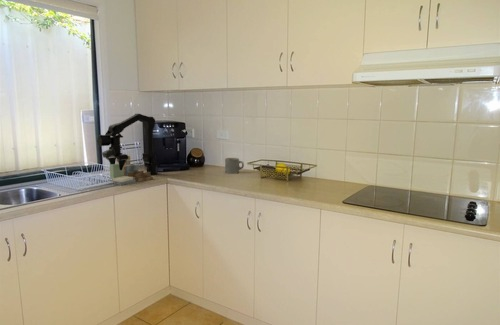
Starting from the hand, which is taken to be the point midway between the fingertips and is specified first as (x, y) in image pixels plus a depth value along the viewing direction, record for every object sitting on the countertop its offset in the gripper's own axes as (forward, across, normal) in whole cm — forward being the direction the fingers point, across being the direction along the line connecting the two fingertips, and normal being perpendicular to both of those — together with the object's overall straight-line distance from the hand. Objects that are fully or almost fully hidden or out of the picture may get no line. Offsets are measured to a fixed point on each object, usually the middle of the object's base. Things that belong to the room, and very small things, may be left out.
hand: (116, 169), depth 217 cm
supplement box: (+7, -15, +14) cm, 22 cm away
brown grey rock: (+7, +6, +10) cm, 13 cm away
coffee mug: (+7, +40, +68) cm, 79 cm away
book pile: (+7, +13, -3) cm, 15 cm away
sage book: (+7, 0, 0) cm, 7 cm away
